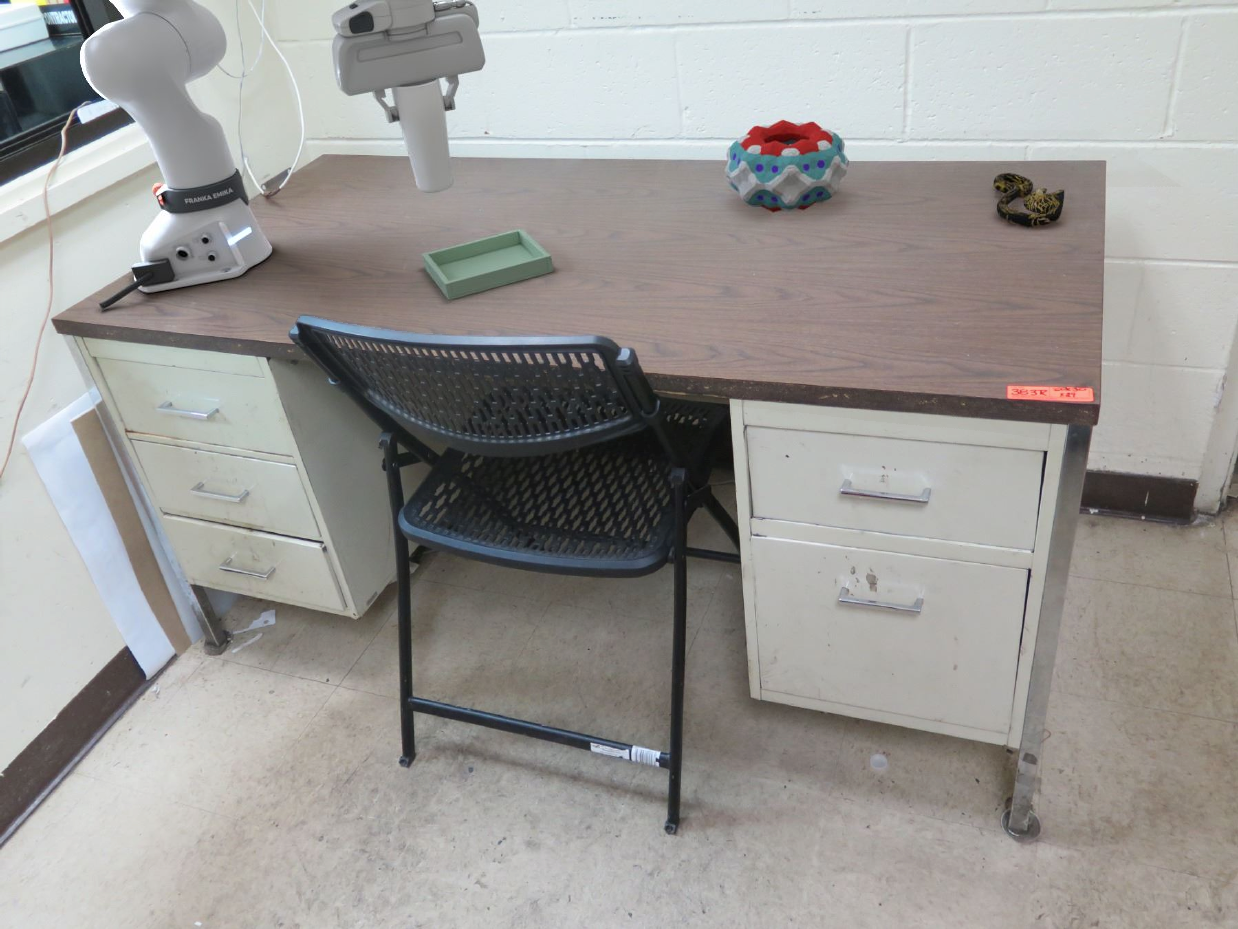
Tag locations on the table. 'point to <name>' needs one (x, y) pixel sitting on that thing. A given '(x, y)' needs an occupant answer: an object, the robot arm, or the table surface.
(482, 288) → the tray
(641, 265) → the table surface
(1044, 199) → the rubber snake
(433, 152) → the drinking glass
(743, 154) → the decorative model
